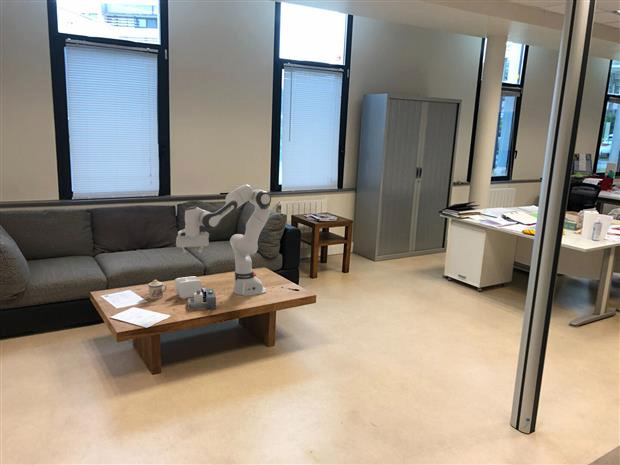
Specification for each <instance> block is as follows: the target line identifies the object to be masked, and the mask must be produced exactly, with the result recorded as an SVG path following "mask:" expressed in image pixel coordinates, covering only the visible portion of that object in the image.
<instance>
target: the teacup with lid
mask: <svg viewBox="0 0 620 465" xmlns="http://www.w3.org/2000/svg"><path fill="white" fill-rule="evenodd" d="M147 286H148V298H149V299H151V300H159V299H162V298H163V297H164V292H166V291H167V285H166V284H164V283H163V282H161V281H158V280H157V279H154V280H152V282H149V283H148V285H147ZM163 287H164V288H163ZM163 289H164V290H163Z"/></svg>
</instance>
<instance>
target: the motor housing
mask: <svg viewBox="0 0 620 465" xmlns="http://www.w3.org/2000/svg"><path fill="white" fill-rule="evenodd" d="M204 292H206V302H203V303H194V297H189V298H187V305H188V309H189V311H191V310H198V309H199V310H201V309H207V311H210V310H217V296H216V293H215V291H214V288H205V289H204Z"/></svg>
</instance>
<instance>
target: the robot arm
mask: <svg viewBox="0 0 620 465" xmlns="http://www.w3.org/2000/svg"><path fill="white" fill-rule="evenodd" d="M247 202H248V203H249V204H250V205H252V206H254V211H253V212H252V214H251V216H250V217H249V219H248V220H247V222H246V224H245V231H244V232H245V233H244V234H241V233H235V234H233V235H232V236H231V237H230V239H229V244H230V246H231V247H232V251H233V257H234V265H235V271H234V286H233V288H232V293H233V294H236V295H240V296H244V297H247V296H254V295H255V296H256V295H261V294H266V292H267V288H266V287H265V286H263V282H262V281H261V280H260V279H259V278H257V277H256V276H257V273H255V272H254V271H253V269H252V268H253V264H252V263H253V261H252V258H251V256H250V255H254V254H255V253H257V251H258V249H259V245H258V243H259V242H258V241H259V237H260V234H261V232H262V230H263V228H264V227H265V225H266V224H267V222H268V220H269V217H270V216H271V211H272V210H271V209H270V206H271V202H272V195H271V194H270V193H269V192H268V191H267V190H263V189H256V188H254V189H253V187H252V186H251V185H249V184H243V185H240V186H238V187H236V188H235V189H233V190H232V191H230V192H229V193H227V195H226V196H225V204H224V206H222V207H221V208H219V209H218V210H217V211H214V212H210V211H209V210H205V209H202V208H200V207H198V206H197V205H194V206H193V205H192V206H189V207H186V209H185V211H184V222H185V226H184V229H181V230H179V231H177V236H176V238H175V239H176V240H175V246H176V247H177V248H181V249H182V251H183V254H184V255H187V250H185V248H195V247H200V249H199V250H198V253H199V254H202V251H203V250H204V247H208V246H210V241H209V238H210V233H209V232H207V231H200V227H201V226H203V227H204V228H205V229H206V230H209V231H210V230H215V229H216V228H217V227H218V226H219V225H220V223H221V222H222V221H223V220H225V218H227V217H229V215H230V214H232V213H233V212H235V211H236V210H237V209H238V208H240V207H241V206H242V205H243V204H246V203H247Z"/></svg>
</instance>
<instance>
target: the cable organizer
mask: <svg viewBox="0 0 620 465" xmlns="http://www.w3.org/2000/svg"><path fill="white" fill-rule="evenodd" d="M197 290H200V292H202V281H201V279H198V277H197V276H194V275H193V276H192V275H191V276H185V277H184V276H183V277H178V278H175V279H174V292H175V294H176V295H178V296H179V298H180V299H183V300H185V299H188V298H194V293H196V291H197Z"/></svg>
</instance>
